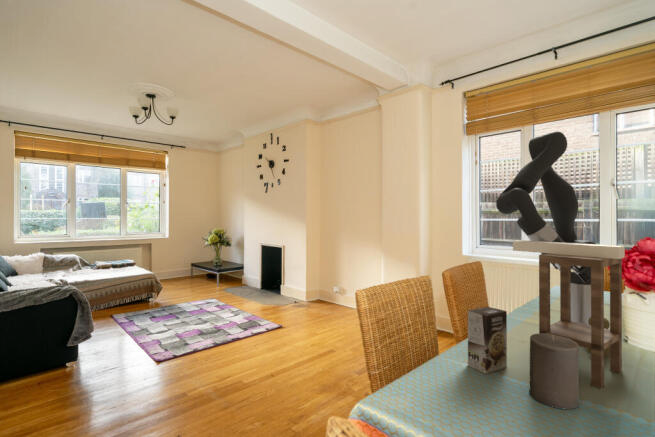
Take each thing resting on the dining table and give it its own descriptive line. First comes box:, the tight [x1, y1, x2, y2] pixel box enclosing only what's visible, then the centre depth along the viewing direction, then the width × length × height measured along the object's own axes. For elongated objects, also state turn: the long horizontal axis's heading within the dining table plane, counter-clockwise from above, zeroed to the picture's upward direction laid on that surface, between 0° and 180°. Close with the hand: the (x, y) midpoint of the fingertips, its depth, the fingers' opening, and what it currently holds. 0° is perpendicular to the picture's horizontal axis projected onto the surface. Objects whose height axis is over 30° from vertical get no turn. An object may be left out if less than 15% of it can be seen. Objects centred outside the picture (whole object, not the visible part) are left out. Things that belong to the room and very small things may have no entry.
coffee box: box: [467, 306, 508, 375], centre depth 95 cm, size 9×6×16 cm
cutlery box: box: [512, 239, 626, 259], centre depth 95 cm, size 4×26×3 cm, turn 34°
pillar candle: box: [528, 333, 580, 410], centre depth 78 cm, size 10×10×15 cm
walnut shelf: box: [538, 253, 623, 390], centre depth 92 cm, size 16×14×32 cm
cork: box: [586, 317, 610, 358], centre depth 103 cm, size 6×6×11 cm
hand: (580, 280), depth 107 cm, fingers open, 8 cm apart
